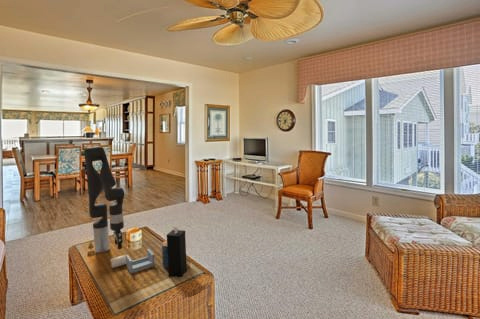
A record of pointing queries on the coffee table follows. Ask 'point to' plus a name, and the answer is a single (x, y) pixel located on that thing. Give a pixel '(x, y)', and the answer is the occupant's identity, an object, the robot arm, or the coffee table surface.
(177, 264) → the long black block
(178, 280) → the coffee table surface
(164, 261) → the canister
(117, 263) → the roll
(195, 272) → the coffee table surface
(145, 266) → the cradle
